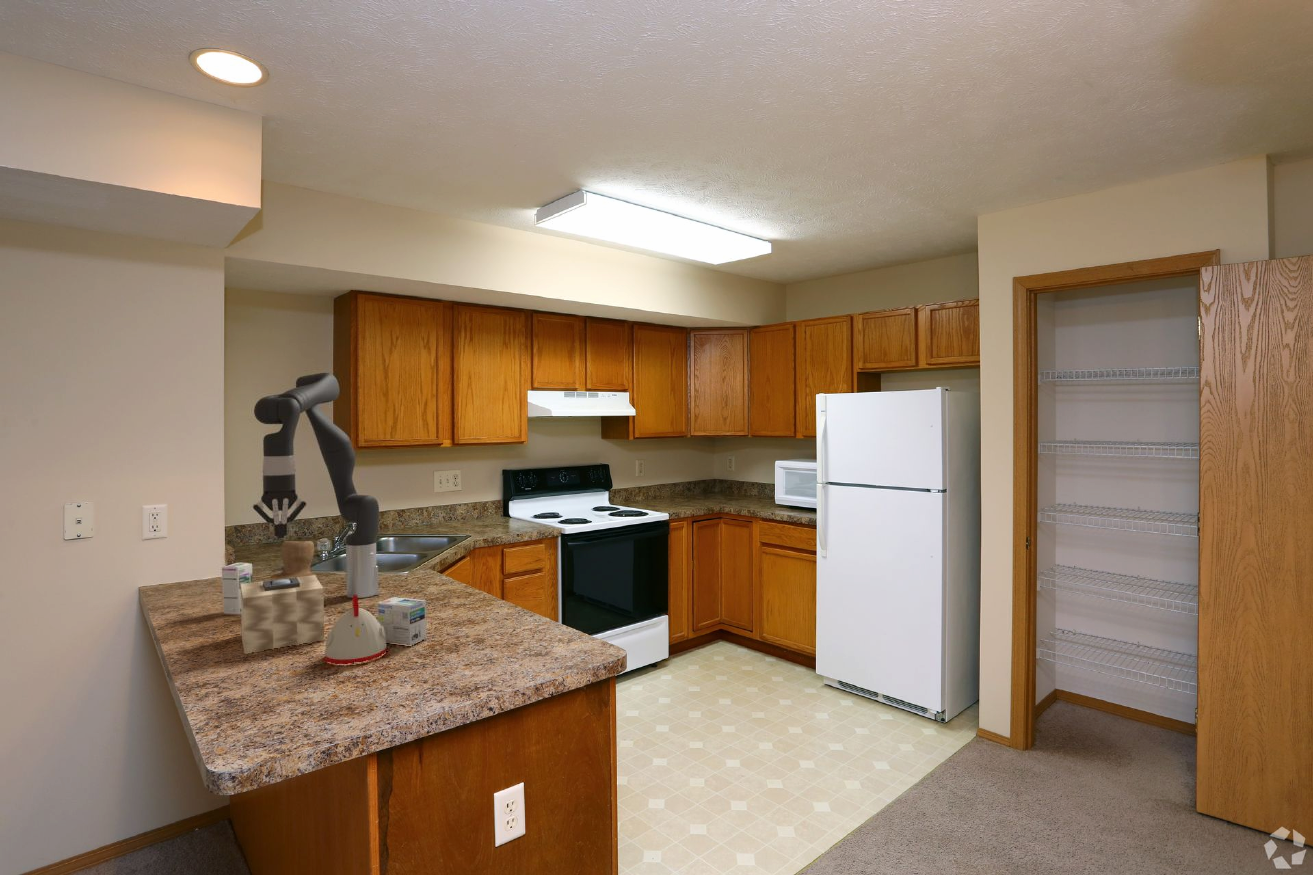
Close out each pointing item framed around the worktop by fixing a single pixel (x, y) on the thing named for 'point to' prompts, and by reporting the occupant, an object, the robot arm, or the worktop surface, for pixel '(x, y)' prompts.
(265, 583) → the rubber collar
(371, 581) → the robot arm
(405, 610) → the light bulb box
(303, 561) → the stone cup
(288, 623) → the birch block
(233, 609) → the syrup box
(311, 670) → the worktop surface
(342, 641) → the kitchen timer
